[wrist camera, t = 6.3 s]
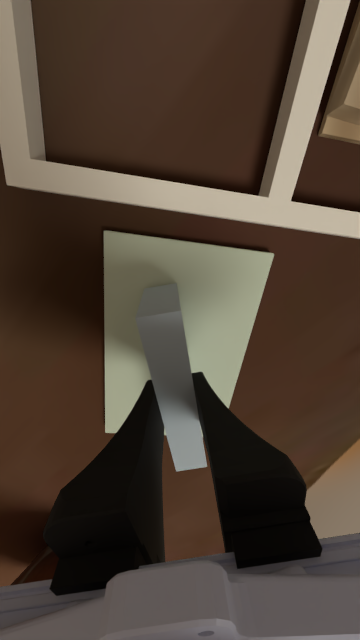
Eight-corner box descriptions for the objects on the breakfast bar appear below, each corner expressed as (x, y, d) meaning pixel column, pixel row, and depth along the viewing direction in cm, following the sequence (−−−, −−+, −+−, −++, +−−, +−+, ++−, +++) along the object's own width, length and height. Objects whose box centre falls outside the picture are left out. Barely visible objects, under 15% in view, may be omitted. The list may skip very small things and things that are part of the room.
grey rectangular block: (176, 282, 13) (180, 310, 9) (197, 411, 18) (206, 466, 14) (144, 288, 13) (135, 318, 9) (174, 415, 18) (176, 471, 14)
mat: (270, 252, 14) (274, 253, 13) (218, 431, 20) (219, 437, 20) (106, 230, 13) (103, 230, 12) (107, 426, 19) (105, 432, 19)
